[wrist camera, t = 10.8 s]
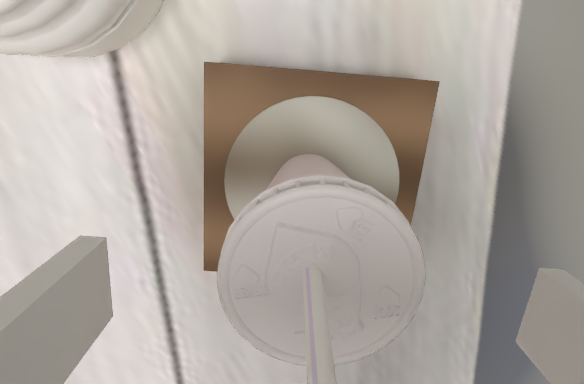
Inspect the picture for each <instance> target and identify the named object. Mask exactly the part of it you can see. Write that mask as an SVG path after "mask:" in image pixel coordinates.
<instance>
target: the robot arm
mask: <svg viewBox="0 0 584 384" xmlns="http://www.w3.org/2000/svg"><path fill="white" fill-rule="evenodd" d="M112 317H113V311H112V299H111V287H110V275H109V263H108V251H107V239H106V237H92V236H79V237H78V238H77V239H75V240H74V241H73V242H71V243H70V244H69V245H67V246H66V247H65V248H64V249H62V250H61V251H60V252H58V253H57V254H56V255H54V256H53V257H52V258H51V259H49V260H48V261H47V262H45V263H44V264H43V265H41V266H40V267H39V268H38V269H36V270H35V271H34V272H32V273H31V274H30V275H28V276H27V277H26V278H25V279H23V280H22V281H21V282H19V283H18V284H17V285H15V286H14V287H13V288H12V289H10V290H9V291H8V292H6V293H5V294H4V295H2V296H1V297H0V384H64V382H65V381H66V379H67V378H68V377H69V375H70V374H71V373H72V371H73V370H74V368H75V367H76V366H77V364H78V363H79V362H80V360H81V359H82V358H83V356H84V355H85V353H86V352H87V351H88V349H89V348H90V347H91V345H92V344H93V343H94V341H95V340H96V338H97V337H98V336H99V334H100V333H101V332H102V330H103V329H104V328H105V326H106V325H107V323H108V322H109V321H110V319H111V318H112ZM516 343H517V344H518V346H519V347H520V348H521V349H522V350H523V352H525V354H526V355H527V356H528V357H529V358H530V360H531V361H532V362H533V363H534V365H535V366H536V367H537V368H538V369H539V370H540V372H541V373H542V374H543V375H544V377H546V379H547V380H548V381H549V382H550V384H584V284H583V283H582V282H580V281H579V280H578V279H576V278H575V277H574V276H572V275H571V274H569V273H568V272H567V271H565V270H563V269H551V268H539V270H538V273H537V276H536V279H535V282H534V285H533V288H532V292H531V294H530V298H529V301H528V304H527V307H526V310H525V313H524V316H523V319H522V322H521V325H520V329H519V332H518V335H517V338H516Z"/></svg>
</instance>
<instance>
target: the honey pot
mask: <svg viewBox="0 0 584 384" xmlns="http://www.w3.org/2000/svg"><path fill="white" fill-rule="evenodd" d="M162 3H163V0H0V53H4V54H8V55H30V56H48V57H96V56H99V55H102V54H105V53H108V52H112V51H115V50H118V49H120V48H122V47H123V46H125V45H126V44H127V43H129V42H130V41H132V40H133V39H135V38H136V37H138V36H139V35H140V34H142V33H143V31H144V30H145V29H146V27H147V26H148V25H149V24H150V22H151V21H152V20H153V18H154V17H155V16H156V15H157V13H158V12H159V10H160V8H161V5H162Z"/></svg>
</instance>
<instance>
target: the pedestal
mask: <svg viewBox="0 0 584 384" xmlns="http://www.w3.org/2000/svg"><path fill="white" fill-rule="evenodd" d="M438 87H439V81H428V80H418V79H406V78H394V77H382V76H370V75H358V74H346V73H334V72H322V71H311V70H299V69H287V68H275V67H263V66H251V65H239V64H227V63H213V62H204V270H206V271H218V263H219V259H220V255H221V250H222V247H223V244H224V241H225V238H226V235H227V232H228V229H229V227H230V226H231V224H232V223H233V221H234V220H235V219H236V217H237V216H238V214H239V213H240V212H241V210H242V209H243V207H245V206H246V205H247V204H248V203H249V202H251V201H252V200H253V199H254V198H256V197H257V196H258V195H259V194H261V193H262V192H263V191H264V190H266V189H267V187H268V186H269V184H270V183H271V181H272V180H273V178H274V177H275V175H276V174H277V172H278V171H279V170H280V168H281V167H282V166H283V164H284V163H285V162H287V161H288V160H289V159H291V158H293V157H295V156H298V155H301V154H316V155H320V156H322V157H324V158H326V159H328V160H329V161H330V162H332V163H333V164H334V165H335V166H336V167H338V168H339V169H340V170H341V171H342V172H343V173H344V174H346V175H347V176H348V177H349V178H350V179H352V180H355V181H358V182H360V183H363V184H366V185H369V186H371V187H373V188H374V189H376V190H377V191H378V192H380V193H381V194H383V195H384V196H386V197H387V198H388V199H390V200H391V201H393V202H394V204H395V205H396V206H397V207H398V209H399V210H400V211H401V212H402V214H403V215H404V216H405V217H406V219H407V220H408V221H409V224H410V226H411V221H412V216H413V211H414V206H415V201H416V196H417V191H418V186H419V181H420V176H421V171H422V166H423V161H424V156H425V151H426V146H427V141H428V136H429V131H430V127H431V122H432V117H433V112H434V107H435V102H436V97H437V92H438Z"/></svg>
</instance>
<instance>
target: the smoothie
mask: <svg viewBox="0 0 584 384" xmlns="http://www.w3.org/2000/svg"><path fill="white" fill-rule="evenodd" d="M217 285H218V292H219V297H220V301H221V304H222V307H223V309H224V311H225V313H226V315H227V317H228V319H229V320H230V322H231V324H232V325H233V326H234V328H235V329H236V330H237V331H238V332H239V334H240V335H241V336H242V337H243V338H244V339H246V340H247V341H248V342H249V343H250V344H252V345H253V346H254V347H256V348H257V349H259V350H260V351H262V352H264V353H266V354H268V355H270V356H272V357H274V358H277V359H279V360H282V361H285V362H289V363H293V364H297V365H305V366H307V382H308V384H337V383H336V376H335V369H334V365H339V364H345V363H349V362H353V361H356V360H358V359H361V358H364V357H366V356H368V355H371V354H372V353H374V352H376V351H378V350H380V349H381V348H383V347H384V346H386V345H387V344H388V343H390V342H391V341H392V340H394V339H395V338H396V337H397V336H398V335H399V334H400V333H401V332H402V331H403V329H404V328H405V327H406V326H407V325H408V323H409V322H410V321H411V319H412V317H413V316H414V314H415V312H416V310H417V308H418V306H419V304H420V301H421V298H422V295H423V291H424V285H425V262H424V257H423V253H422V249H421V246H420V244H419V241H418V239H417V237H416V235H415V233H414V232H413V230H412V229H411V226H410V224H409V221H408V220H407V219H406V217H405V216H404V215H403V214H402V212H401V211H400V210H399V209H398V207H397V206H396V205H395V204H394V202H393V201H391V200H390V199H388V198H387V197H386V196H384V195H383V194H381V193H380V192H378V191H377V190H376V189H374V188H373V187H371V186H369V185H366V184H363V183H360V182H358V181H355V180H352V179H350V178H349V177H348V176H347V175H346V174H344V173H343V172H342V171H341V170H340V169H339V168H338V167H336V166H335V165H334V164H333V163H332V162H330V161H329V160H328V159H326V158H324V157H322V156H320V155H316V154H301V155H298V156H295V157H293V158H291V159H289V160H288V161H287V162H285V163H284V164H283V166H282V167H281V168H280V170H279V171H278V172H277V174H276V175H275V177H274V178H273V180H272V181H271V183H270V184H269V186H268V187H267V189H266V190H264V191H263V192H262V193H261V194H259V195H258V196H257V197H256V198H254V199H253V200H252V201H251V202H249V203H248V204H247V205H246V206H245V207H243V209H242V210H241V212H240V213H239V214H238V216H237V217H236V219H235V220H234V221H233V223H232V224H231V226H230V227H229V229H228V232H227V235H226V238H225V241H224V244H223V247H222V250H221V255H220V259H219V263H218V271H217Z"/></svg>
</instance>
